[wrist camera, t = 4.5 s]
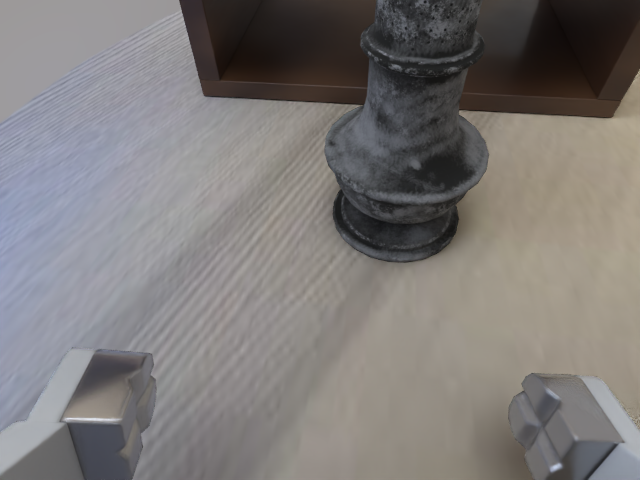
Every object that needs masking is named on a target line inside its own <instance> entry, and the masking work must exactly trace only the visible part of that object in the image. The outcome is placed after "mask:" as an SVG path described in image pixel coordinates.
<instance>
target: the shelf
mask: <svg viewBox="0 0 640 480" xmlns="http://www.w3.org/2000/svg"><path fill="white" fill-rule="evenodd" d="M179 1H180V5H181V9H182V13H183V17H184V21H185V25H186V28H187V32H188V36H189V40H190V44H191V48H192V52H193V56H194V59H195V63H196V67H197V71H198V75H199V79H200V83H201V86H202V90H203V94H204V96H222V97H240V98H259V99H278V100H296V101H315V102H334V103H352V104H365V101H366V97H367V89H368V73H369V57H368V56H367V55H365V53H364V52H363V50H362V48H361V35H362V33H363V31H364V30H365V29H366V28H367V27H368V26H369V25H371V24H372V23H373V22H375V8H376V0H179ZM475 30H476V31H477V32H478V33H479V34H480V35H481V36H482V38H483V40H484V43H485V49H484V53H483V56H482V57H481V58H480V59H479V61H478V62H477V63H475V64H474V65H472V66H470V67H468V71H467V75H466V79H465V83H464V87H463V91H462V95H461V99H460V103H459V109H464V110H483V111H502V112H520V113H539V114H558V115H576V116H595V117H612V116H613V115H614V113H615V111H616V109H617V108H618V106H619V104H620V102H621V100H622V99H623V97H624V95H625V94H626V92H627V90H628V88H629V87H630V85H631V83H632V82H633V80H634V78H635V76H636V75H637V73H638V71H639V69H640V0H483V1H482V5H481V9H480V13H479V17H478V21H477V25H476V29H475Z"/></svg>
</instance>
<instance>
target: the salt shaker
mask: <svg viewBox="0 0 640 480" xmlns="http://www.w3.org/2000/svg"><path fill="white" fill-rule="evenodd" d="M482 1H483V0H376V8H375V22H373V23H372V24H371V25H369V26H368V27H367V28H366V29H365V30H364V31H363V33H362V35H361V48H362V50H363V52H364V53H365V55H367V56H368V57H369V73H368V89H367V97H366V101H365V105H363V106H360V107H357V108H355V109H354V110H352V111H350V112H348V113H346V114H344V115H343V116H342V117H341V118H340V119H339V120H338V121H337V122H335V123H334V124H333V125H332V127H331V129H330V131H329V132H328V134H327V136H326V141H325V155H326V159H327V162H328V165H329V167H330V168H331V169H332V171H333V172H334V173H335V176H336V180H337V182H338V184H339V186H340V188H341V190H340V191H339V192H338V194H337V197H336V199H335V201H334V206H333V219H334V222H335V226H336V229H337V230H338V232H339V233H340V234H341V236H342V237H343V239H344V240H345V241H346V242H347V243H349V244H350V245H351V246H352V247H353V248H355V249H356V250H358V251H360V252H362V253H364V254H366V255H368V256H370V257H373V258H377V259H381V260H385V261H392V262H410V261H416V260H422V259H425V258H427V257H429V256H432V255H434V254H437V253H438V252H439V251H441V250H442V249H443V248H444V247H446V246H447V245H448V244H449V243H450V241H451V240H452V238H453V237H454V235H455V233H456V230H457V225H458V220H459V218H458V212H457V207H456V205H455V204H457V203H458V202H459V201H460V200H461V199H462V198H463V197H464V195H465V194H466V192H467V191H468V190H470V189H471V188H472V187H474V186H475V185H476V184H478V182H479V181H480V179H481V178H482V176H483V174H484V173H485V171H486V169H487V164H488V157H489V153H488V150H487V146H486V142H485V140H484V139H483V137H482V136H481V135H480V133H479V132H478V130H477V129H476V128H475V127H474V126H473V125H472V124H471V123H469V122H468V121H467V120H466V119H465V118H463V117H462V116H460V115H459V103H460V99H461V95H462V91H463V87H464V83H465V79H466V75H467V71H468V67H470V66H472V65H474V64H475V63H477V62H478V61H479V59H480V58H481V57H482V56H483V53H484V49H485V43H484V40H483V38H482V36H481V35H480V34H479V33H478V32H477V31H476V30H475V29H476V25H477V21H478V17H479V13H480V9H481V5H482Z"/></svg>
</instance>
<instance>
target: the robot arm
mask: <svg viewBox="0 0 640 480" xmlns="http://www.w3.org/2000/svg"><path fill="white" fill-rule="evenodd" d="M153 366H154V362H153V356H152V354H151V353H143V352H130V351H117V350H105V349H88V348H74V347H72V348H71V349H70V350H69V351H68V352H67V353H66V354H65V355H64V357H63V358H62V360H61V362H60V363H59V365H58V367H57V368H56V370H55V372H54V374H53V375H52V377H51V379H50V380H49V382H48V384H47V385H46V387H45V389H44V390H43V392H42V394H41V396H40V397H39V399H38V401H37V402H36V404H35V406H34V407H33V409H32V411H31V412H30V414H29V416H28V418H27V419H26V421H16V422H14V423H13V424H12V425H10V426H9V427H7V428H6V429H4V430H3V431H2V432H0V480H132V479H133V476H134V473H135V470H136V467H137V463H138V460H139V457H140V454H141V451H142V448H143V445H142V438H141V433H142V432H143V431H144V430H145V429H147V428H148V427H149V426H150V422H151V419H152V416H153V412H154V407H155V401H156V379H155V378H153V377H152V376H151V372H152V369H153ZM522 387H523V389H524V391H522V392H521V393H519V394H517V395H516V396H514V397H513V399H512V401H511V403H510V405H509V415H508V419H509V424H510V428H511V431H512V433H513V435H514V438H515V440H517V441H518V442H519V443H520V444H521V445H522V446H523V447H524V448H525V449H526V453H525V457H524V460H525V462H526V464H527V466H528V468H529V471H530V473H531V475H532V477H533V479H534V480H640V430H639V429H638V427H637V426H636V425H635V423H634V422H633V420H632V419H631V418H630V416H629V415H628V414H627V412H626V411H625V409H624V408H623V407H622V405H621V404H620V403H619V401H618V400H617V398H616V397H615V396H614V394H613V393H612V392H611V390H610V389H609V388H608V386H607V385H606V383H605V382H604V381H603V380H601V379H600V378H599V377H597V376H580V375H567V374H542V373H531V374H529V375H528V376H526V377H525V379H524V380H523V382H522Z"/></svg>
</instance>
